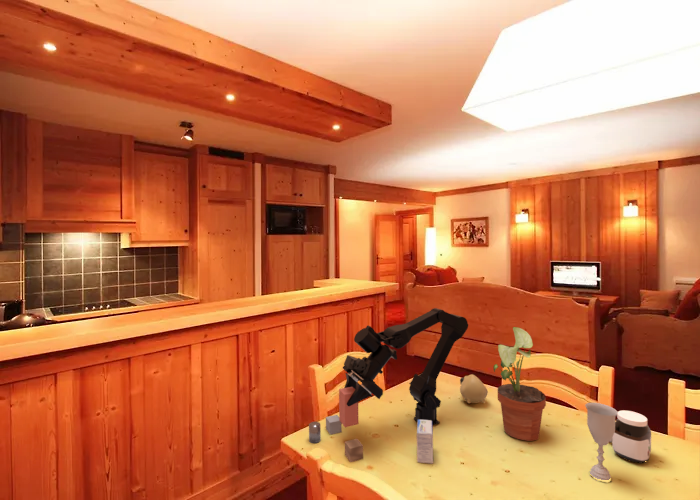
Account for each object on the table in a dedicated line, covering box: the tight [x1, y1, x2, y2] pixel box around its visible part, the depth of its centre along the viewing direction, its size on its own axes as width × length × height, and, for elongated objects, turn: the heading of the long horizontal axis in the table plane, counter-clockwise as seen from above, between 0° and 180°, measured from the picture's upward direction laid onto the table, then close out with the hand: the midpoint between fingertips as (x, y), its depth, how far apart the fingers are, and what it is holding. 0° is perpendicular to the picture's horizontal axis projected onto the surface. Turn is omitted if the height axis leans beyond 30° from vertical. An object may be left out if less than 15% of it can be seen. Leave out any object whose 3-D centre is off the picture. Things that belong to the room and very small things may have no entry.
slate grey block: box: [325, 414, 343, 436], centre depth 120 cm, size 4×4×4 cm
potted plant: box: [493, 326, 547, 442], centre depth 116 cm, size 16×15×35 cm
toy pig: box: [459, 373, 489, 404], centre depth 140 cm, size 10×12×11 cm
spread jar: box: [609, 409, 652, 464], centre depth 106 cm, size 12×11×12 cm
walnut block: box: [344, 438, 364, 463], centre depth 105 cm, size 4×4×4 cm
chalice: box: [584, 402, 618, 480], centre depth 95 cm, size 7×7×18 cm
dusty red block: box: [338, 387, 360, 428], centre depth 113 cm, size 4×4×10 cm
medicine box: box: [416, 420, 434, 464], centre depth 106 cm, size 8×4×9 cm, turn 168°
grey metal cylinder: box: [308, 421, 322, 444], centre depth 114 cm, size 4×4×5 cm
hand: (344, 402), depth 113 cm, fingers closed on dusty red block, 4 cm apart
